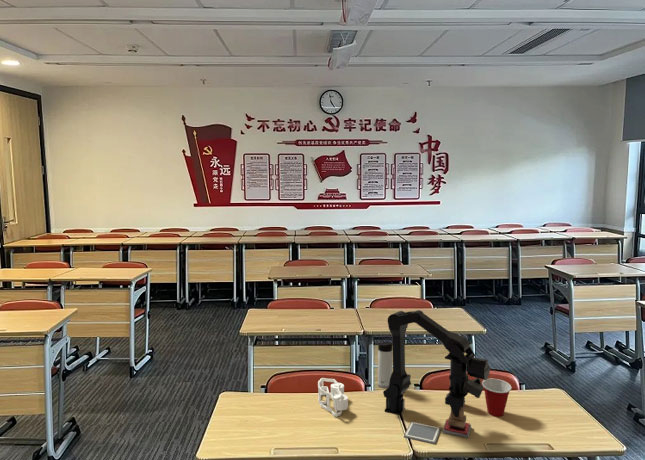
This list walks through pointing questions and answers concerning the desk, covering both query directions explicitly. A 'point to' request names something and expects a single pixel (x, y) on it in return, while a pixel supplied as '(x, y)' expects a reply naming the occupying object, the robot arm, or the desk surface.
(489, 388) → the plastic cup
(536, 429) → the desk surface
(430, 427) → the marked board
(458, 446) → the desk surface
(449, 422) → the stamp
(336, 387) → the white open frame block
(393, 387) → the robot arm
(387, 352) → the travel mug
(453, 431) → the ink pad
